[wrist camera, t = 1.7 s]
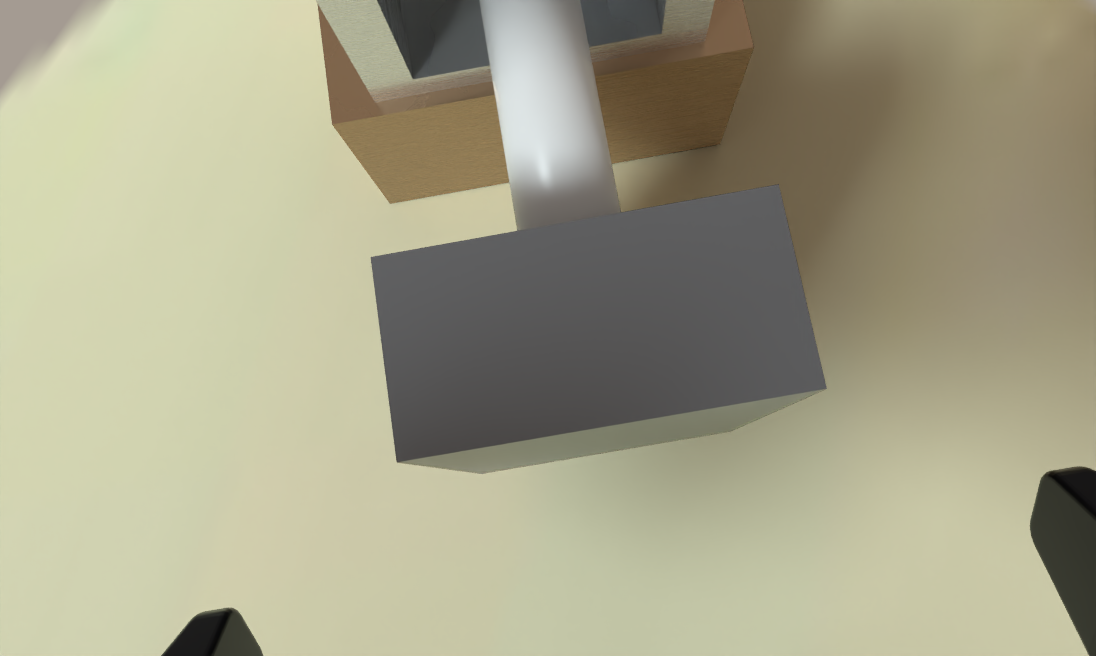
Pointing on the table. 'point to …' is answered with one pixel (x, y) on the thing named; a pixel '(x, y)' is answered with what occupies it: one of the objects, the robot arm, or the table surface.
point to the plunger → (586, 291)
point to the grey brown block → (468, 93)
